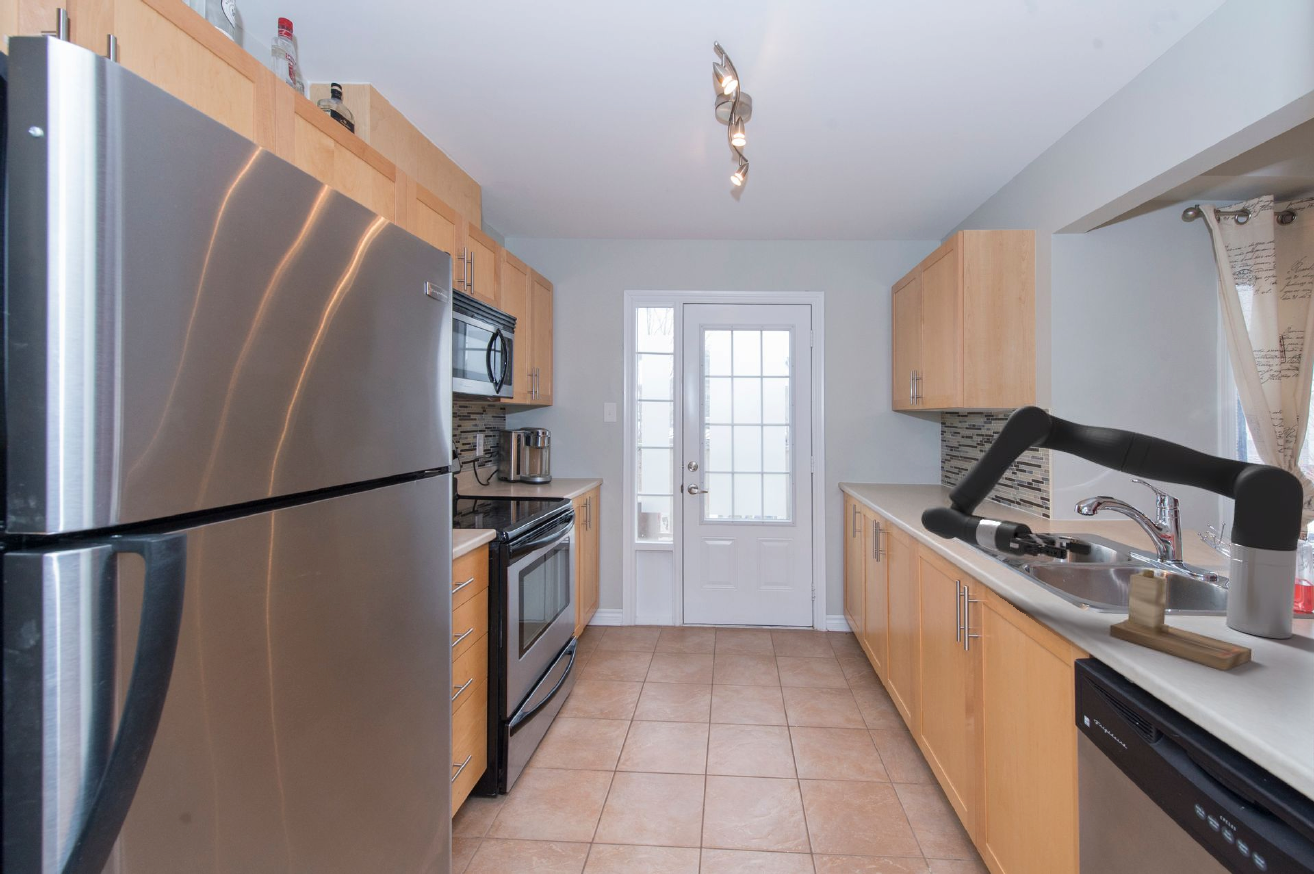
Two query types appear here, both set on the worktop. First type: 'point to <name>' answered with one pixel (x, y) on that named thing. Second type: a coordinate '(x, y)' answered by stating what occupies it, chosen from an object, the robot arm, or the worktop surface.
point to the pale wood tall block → (1147, 603)
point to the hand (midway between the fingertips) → (1078, 552)
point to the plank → (1187, 646)
